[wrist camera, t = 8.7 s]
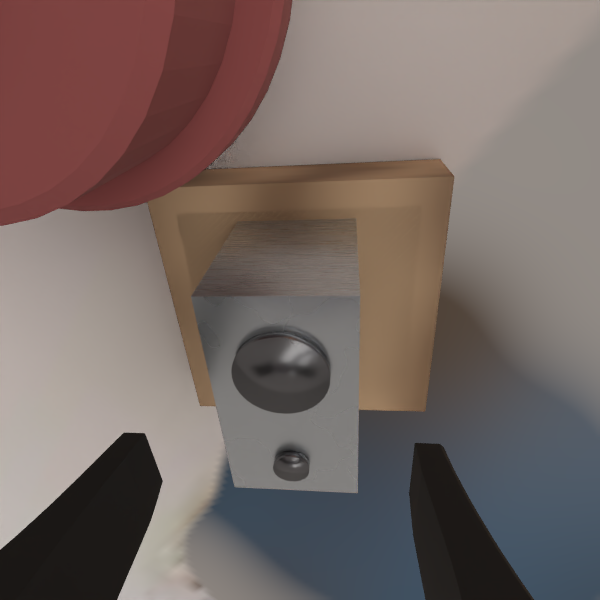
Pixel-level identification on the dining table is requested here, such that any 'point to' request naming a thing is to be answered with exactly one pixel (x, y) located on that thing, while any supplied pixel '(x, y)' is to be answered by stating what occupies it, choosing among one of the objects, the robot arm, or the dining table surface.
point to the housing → (285, 352)
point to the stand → (371, 255)
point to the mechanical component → (125, 95)
